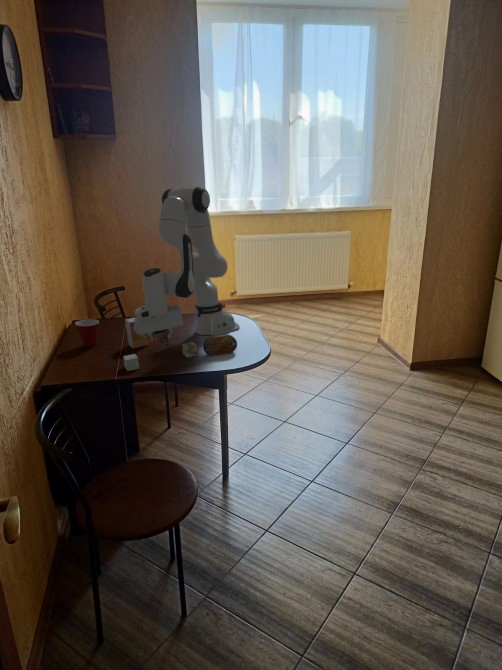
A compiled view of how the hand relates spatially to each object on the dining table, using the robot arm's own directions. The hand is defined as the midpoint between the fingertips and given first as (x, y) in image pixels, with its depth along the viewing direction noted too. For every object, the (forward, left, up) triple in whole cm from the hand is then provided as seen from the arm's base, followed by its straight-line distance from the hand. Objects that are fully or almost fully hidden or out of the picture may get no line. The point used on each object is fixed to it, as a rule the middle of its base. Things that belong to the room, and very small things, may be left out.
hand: (161, 339), depth 197 cm
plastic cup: (+24, -40, -11) cm, 48 cm away
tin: (-25, +4, -11) cm, 27 cm away
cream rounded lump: (-13, -2, -11) cm, 17 cm away
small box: (+4, -27, -11) cm, 29 cm away
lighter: (0, 0, -4) cm, 4 cm away
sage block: (+13, -2, -11) cm, 17 cm away
